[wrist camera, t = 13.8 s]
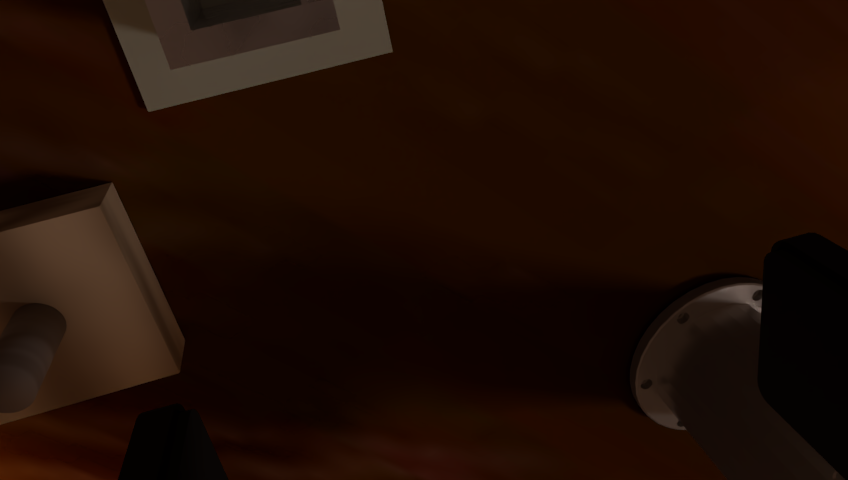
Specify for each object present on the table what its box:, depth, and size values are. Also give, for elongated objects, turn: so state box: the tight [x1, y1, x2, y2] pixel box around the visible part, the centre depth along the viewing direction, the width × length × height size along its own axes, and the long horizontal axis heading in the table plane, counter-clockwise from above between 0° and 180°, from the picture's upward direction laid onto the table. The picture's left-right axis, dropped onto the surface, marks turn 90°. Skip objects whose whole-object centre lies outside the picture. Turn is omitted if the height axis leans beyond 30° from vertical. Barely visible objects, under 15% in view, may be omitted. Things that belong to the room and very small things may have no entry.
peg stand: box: [0, 182, 185, 425], centre depth 31 cm, size 10×10×8 cm
